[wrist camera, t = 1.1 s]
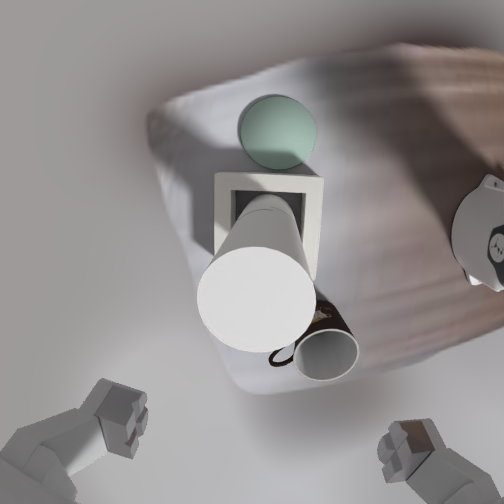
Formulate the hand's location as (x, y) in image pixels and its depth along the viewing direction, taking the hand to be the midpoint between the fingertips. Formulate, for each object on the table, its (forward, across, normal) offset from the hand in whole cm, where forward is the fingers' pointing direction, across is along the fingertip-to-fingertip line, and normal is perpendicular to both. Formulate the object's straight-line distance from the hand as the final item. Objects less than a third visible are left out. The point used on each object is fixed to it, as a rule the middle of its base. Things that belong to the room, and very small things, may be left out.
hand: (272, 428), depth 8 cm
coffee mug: (+35, -9, +14) cm, 39 cm away
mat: (+35, +1, -12) cm, 37 cm away
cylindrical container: (+35, 0, 0) cm, 35 cm away
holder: (+35, 0, 0) cm, 35 cm away
